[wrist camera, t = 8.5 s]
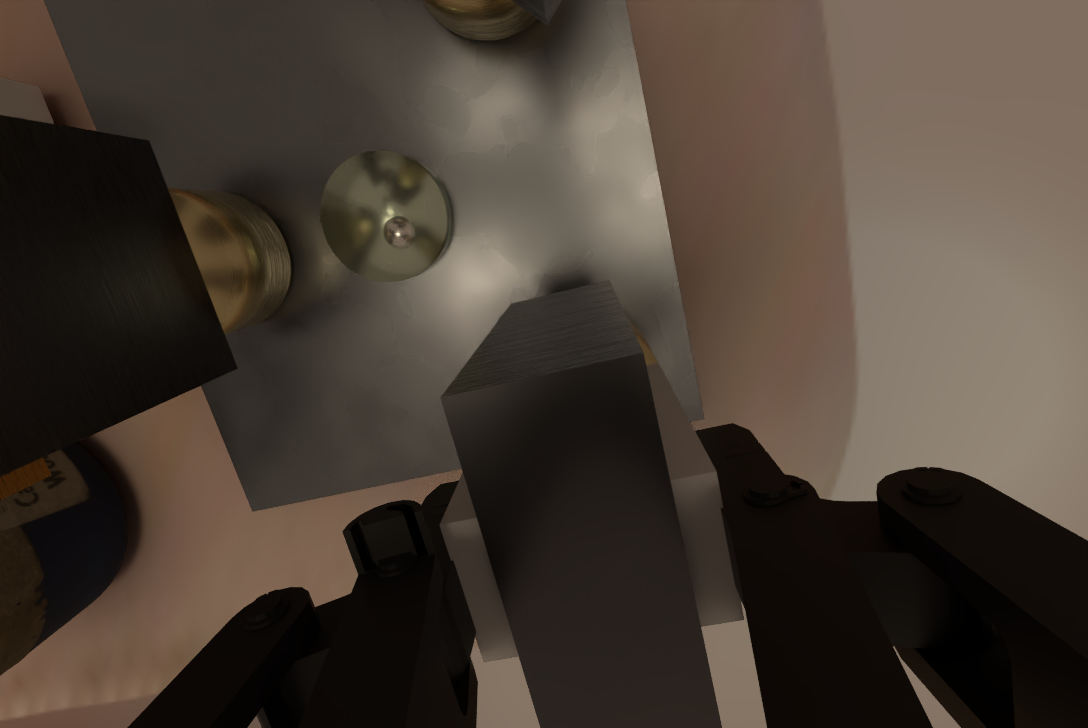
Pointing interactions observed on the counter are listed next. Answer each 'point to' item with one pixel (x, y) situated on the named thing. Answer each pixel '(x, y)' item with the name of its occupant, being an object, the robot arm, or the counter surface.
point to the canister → (56, 550)
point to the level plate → (390, 203)
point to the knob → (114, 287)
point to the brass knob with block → (582, 515)
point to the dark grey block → (490, 16)
